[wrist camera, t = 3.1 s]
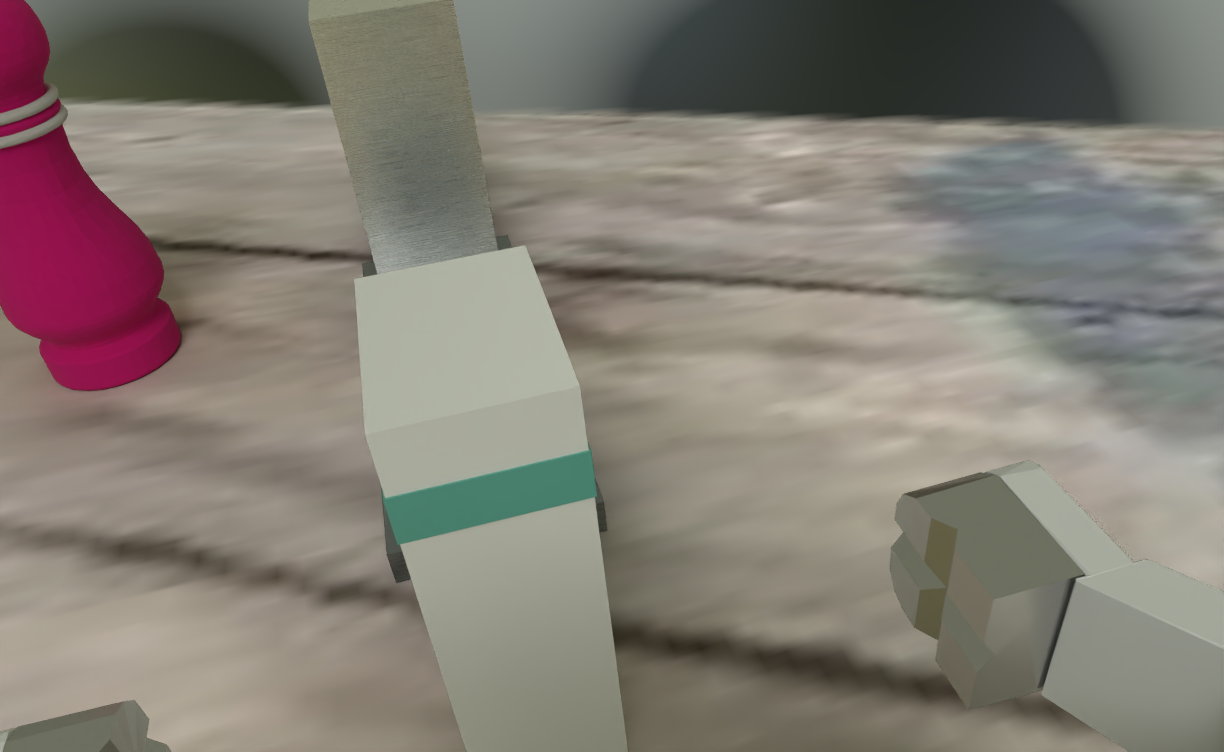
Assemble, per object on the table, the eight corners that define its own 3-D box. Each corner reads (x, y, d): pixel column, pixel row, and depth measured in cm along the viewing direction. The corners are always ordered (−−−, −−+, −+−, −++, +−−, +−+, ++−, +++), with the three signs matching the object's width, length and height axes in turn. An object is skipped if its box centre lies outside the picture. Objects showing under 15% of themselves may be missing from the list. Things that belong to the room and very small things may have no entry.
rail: (607, 530, 35) (559, 143, 26) (396, 582, 34) (267, 196, 25) (511, 258, 53) (461, -32, 43) (368, 287, 51) (286, -6, 42)
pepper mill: (211, 311, 51) (47, -92, 39) (159, 394, 45) (-53, -50, 33) (83, 320, 51) (-119, -76, 39) (15, 403, 45) (-246, -32, 33)
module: (630, 754, 28) (582, 386, 20) (478, 798, 27) (362, 436, 19) (581, 590, 33) (526, 243, 25) (453, 623, 32) (352, 278, 24)
